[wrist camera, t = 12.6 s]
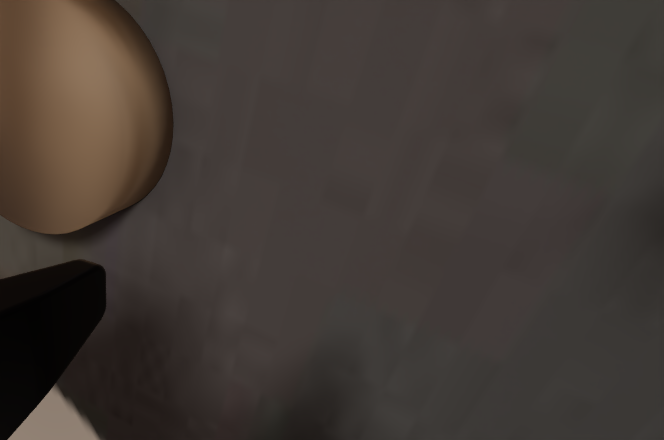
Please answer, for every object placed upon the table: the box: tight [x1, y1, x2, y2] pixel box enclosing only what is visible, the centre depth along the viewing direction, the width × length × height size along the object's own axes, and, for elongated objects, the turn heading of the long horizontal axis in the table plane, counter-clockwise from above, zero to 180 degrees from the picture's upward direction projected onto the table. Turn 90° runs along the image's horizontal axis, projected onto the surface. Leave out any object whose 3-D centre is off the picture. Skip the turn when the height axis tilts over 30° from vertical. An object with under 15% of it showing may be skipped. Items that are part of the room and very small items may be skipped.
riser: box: [0, 0, 173, 234], centre depth 22 cm, size 10×10×3 cm
